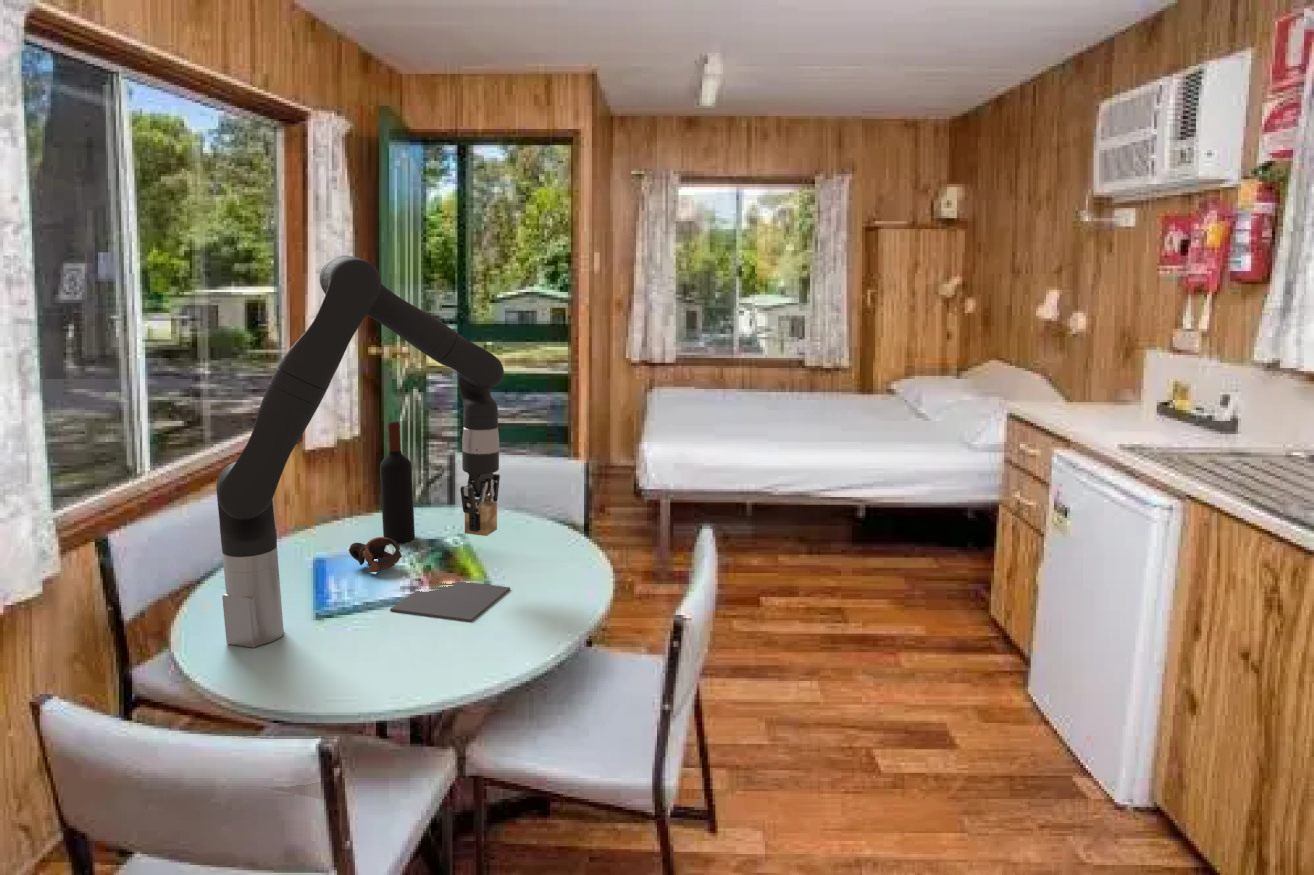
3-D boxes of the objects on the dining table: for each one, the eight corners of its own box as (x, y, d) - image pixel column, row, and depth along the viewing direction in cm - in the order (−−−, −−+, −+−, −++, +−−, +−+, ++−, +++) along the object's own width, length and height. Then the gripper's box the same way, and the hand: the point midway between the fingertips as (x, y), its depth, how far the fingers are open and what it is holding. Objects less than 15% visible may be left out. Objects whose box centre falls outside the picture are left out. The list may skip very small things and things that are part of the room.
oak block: (486, 536, 187) (486, 508, 185) (464, 533, 188) (464, 505, 187) (496, 529, 191) (497, 502, 190) (475, 526, 193) (475, 499, 191)
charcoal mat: (471, 621, 176) (471, 619, 176) (390, 611, 181) (390, 608, 181) (510, 589, 193) (510, 587, 193) (435, 580, 198) (435, 578, 198)
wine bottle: (377, 542, 223) (371, 423, 217) (394, 533, 230) (388, 418, 224) (404, 545, 221) (398, 425, 215) (420, 536, 228) (415, 420, 222)
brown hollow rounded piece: (404, 561, 211) (407, 537, 206) (392, 591, 204) (395, 567, 199) (353, 549, 210) (355, 525, 205) (339, 579, 202) (341, 555, 197)
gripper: (481, 456, 178) (481, 538, 182) (511, 443, 192) (511, 520, 195) (447, 453, 180) (448, 534, 184) (479, 440, 194) (479, 516, 197)
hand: (480, 526), depth 189 cm, fingers closed on oak block, 5 cm apart
